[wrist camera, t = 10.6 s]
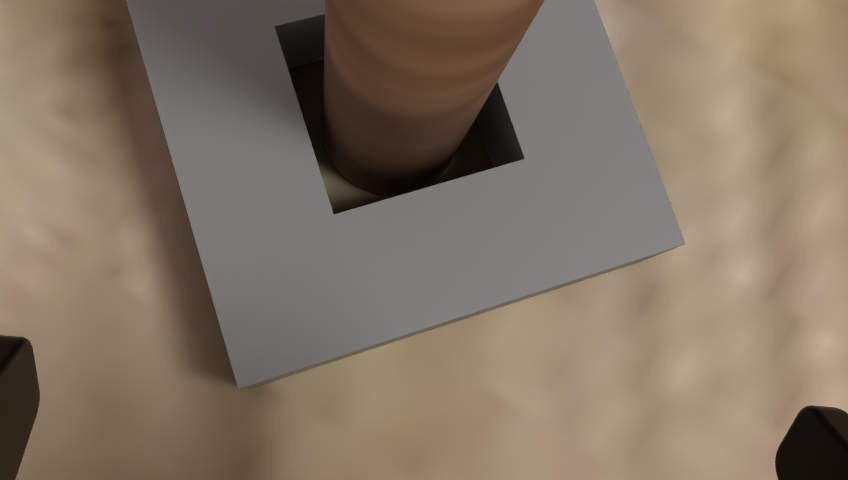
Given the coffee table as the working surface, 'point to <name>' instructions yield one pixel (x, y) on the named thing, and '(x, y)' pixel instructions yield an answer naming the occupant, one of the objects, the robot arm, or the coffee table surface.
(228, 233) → the slate collar block
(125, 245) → the coffee table surface
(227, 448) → the coffee table surface
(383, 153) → the tall walnut pin
